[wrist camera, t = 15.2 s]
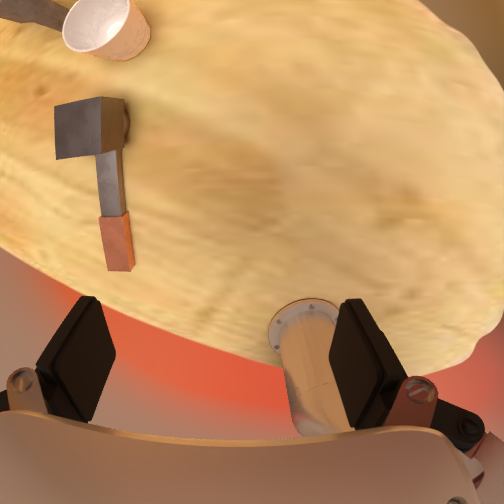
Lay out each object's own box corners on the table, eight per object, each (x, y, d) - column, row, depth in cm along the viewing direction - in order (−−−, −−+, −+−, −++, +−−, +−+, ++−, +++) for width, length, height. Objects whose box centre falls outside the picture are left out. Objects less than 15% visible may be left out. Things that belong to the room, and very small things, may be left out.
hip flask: (15, 22, 22) (-69, 7, 4) (27, 0, 20) (-52, -23, 2) (76, 36, 26) (-20, 6, 8) (91, 12, 24) (4, -32, 6)
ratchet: (141, 263, 41) (129, 284, 36) (108, 263, 40) (93, 282, 35) (129, 101, 31) (112, 99, 26) (92, 107, 31) (71, 107, 26)
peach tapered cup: (132, 3, 25) (103, -24, 16) (167, 34, 28) (144, 8, 18) (90, 44, 27) (51, 29, 18) (122, 76, 29) (86, 65, 20)
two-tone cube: (124, 147, 31) (101, 153, 25) (83, 151, 31) (56, 159, 25) (124, 99, 29) (100, 96, 23) (82, 106, 28) (54, 106, 23)
